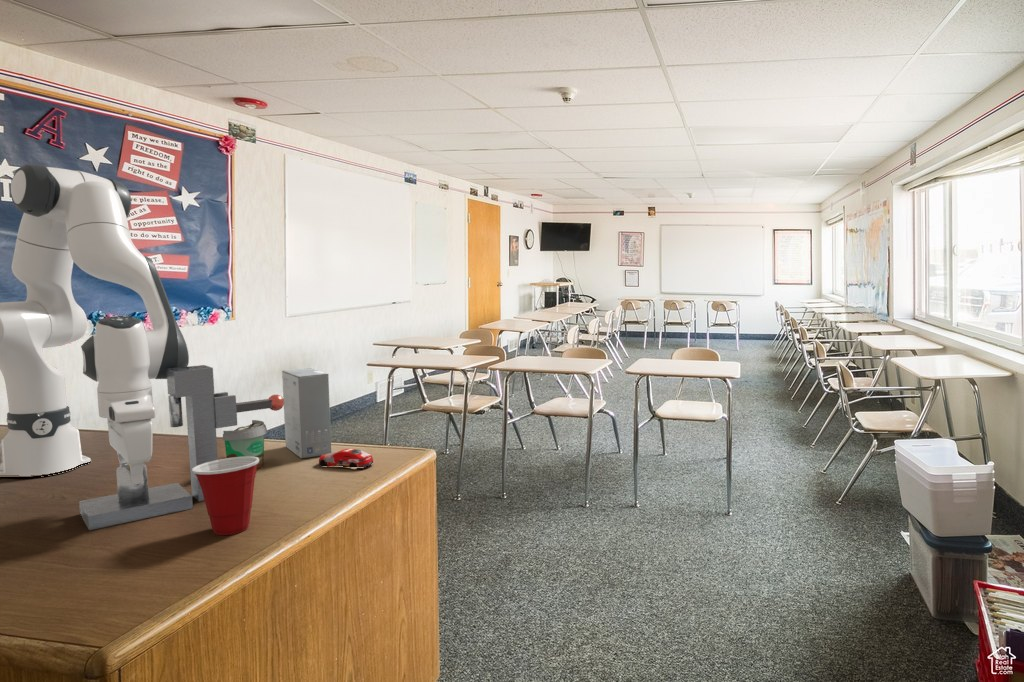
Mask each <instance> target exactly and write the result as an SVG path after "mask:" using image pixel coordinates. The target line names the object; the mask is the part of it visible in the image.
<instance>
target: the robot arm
mask: <svg viewBox="0 0 1024 682" xmlns="http://www.w3.org/2000/svg"><path fill="white" fill-rule="evenodd" d="M10 197H11V201H12V203H13V205H14V207H16V208H17V210H19V211H20V212H22V213H23V214H22V216H21V220H20V223H19V226H18V232H17V237H16V239H15V244H14V245H15V246H14V253H13V257H12V263H11V272H12V274H13V275H14V277H16V279H17V280H19V282H20V283H22V284H24V285H25V287H26V298H25V299H26V300H25V301H23V300H22V301H6V302H5V301H2V302H0V372H1V374H2V376H3V380H4V383H5V385H4V386H5V389H6V391H5V392H6V396H7V397H6V398H7V407H8V412H7V413H6V423H7V429H8V432H7V434H6V435H4V437H3V438H2V439H1V442H0V455H1V456H0V462H1V463H0V475H19V476H31V475H42V474H50V473H55V472H60V471H64V470H68V469H71V468H74V467H76V466H78V465H80V464H83V463H87V462H90V461H91V462H92V459H91V457H88V456H86V455H83V453H82V445H81V438H80V431H79V429H78V428H76V427H75V426H73V425H72V424H71V411H70V406H68V402H67V390H66V379H65V375H64V373H63V372H62V371H61V370H60V369H59V368H57V367H55V366H52V365H50V363H49V362H48V360H47V359H46V357H45V354H44V352H43V349H46V348H55V347H62V346H65V345H67V344H71V343H73V342H75V341H78V340H80V339H81V338H82V337H84V335H85V333H86V332H87V328H88V319H87V315H86V313H85V311H84V309H83V308H82V307H81V306H80V305H79V304H78V303H77V302H76V300H75V298H74V294H73V290H72V273H73V267H74V264H75V265H76V266H77V267H78V268H79V269H81V271H82V272H85V273H86V274H88V275H89V276H91V277H94V278H97V279H99V280H103V281H106V282H109V283H113V284H117V285H121V286H123V287H125V288H128V289H131V291H134V292H135V293H137V294H138V295H139V297H141V299H142V301H143V304H144V307H145V309H146V312H147V315H148V317H149V320H150V323H151V326H152V329H151V330H146V329H145V325H144V323H143V320H141V319H140V318H137V317H135V316H128V315H127V316H126V315H116V316H115V315H114V316H108V317H104V318H101V319H99V320H98V321H97V322H96V324H95V331H94V332H95V333H94V334H92V335H91V336H90V337H89V338H87V339H86V340H85V341H84V342H83V343H82V345H80V349H81V351H82V357H83V359H82V360H83V367H82V370H83V371H82V374H83V375H84V376H86V377H87V378H89V379H91V380H93V381H95V382H96V383H97V382H98V384H97V388H96V391H97V393H96V394H97V406H98V416H99V417H100V418H102V419H107V427H108V428H107V430H108V440H109V444H110V446H111V447H112V448H113V449H114V450H115V451H116V454H117V458H118V462H119V467H121V466H124V465H128V463H129V466H130V481H131V483H132V484H134V485H135V484H141V483H142V482H143V476H142V473H143V468H144V464H145V463H148V462H151V460H152V456H153V439H154V438H153V437H154V436H153V421H152V419H155V418H156V409H155V405H154V403H153V402H154V401H153V388H152V386H153V385H152V382H151V380H154V379H155V380H167V371H166V369H167V368H178V367H188V366H189V363H190V361H189V360H190V351H189V347H188V344H187V342H186V340H185V338H184V335H183V332H182V331H181V329H180V327H179V325H178V323H177V321H176V318H175V314H174V312H173V309H172V306H171V304H170V301H169V299H168V296H167V295H168V294H167V293H166V290H165V288H164V284H163V281H162V279H161V277H160V274H159V271H158V270H157V268H156V265H155V264H154V262H153V260H152V259H151V258H150V257H148V256H146V255H145V254H143V253H141V251H139V249H138V248H137V247H136V246H135V244H134V242H133V240H132V237H131V233H130V227H129V222H128V217H129V215H130V214H131V208H132V197H131V193H130V191H129V190H128V187H127V186H126V185H125V184H123V183H122V182H120V181H118V180H114V179H113V178H109V177H107V178H105V177H102V176H99V175H95V174H93V173H89V172H85V171H81V170H78V169H77V170H73V169H68V168H67V169H66V168H59V167H52V166H50V167H49V166H46V165H44V164H38V163H37V164H36V163H35V164H34V163H30V164H29V163H28V164H23V165H21V166H20V167H19V168H18V169H16V171H15V172H14V174H13V176H12V180H11V183H10ZM127 462H128V463H127Z"/></svg>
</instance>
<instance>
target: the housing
mask: <svg viewBox="0 0 1024 682" xmlns="http://www.w3.org/2000/svg"><path fill="white" fill-rule="evenodd" d="M127 463H128V462H127ZM147 468H148V466H147V464H145V463H144V468H143V473H142V476H143V482H142V483H141V484H135V485H134V484H132V483H131V481H130V466H129V463H128V465H124V466H121V467H120V466H118V467H116V482H117V483H116V485H117V494H118V500H119V502H121V503H132V502H138V501H142V500H145V499H147V498H148V497H149V492H148V488H149V480H148V469H147Z"/></svg>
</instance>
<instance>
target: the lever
mask: <svg viewBox="0 0 1024 682" xmlns="http://www.w3.org/2000/svg"><path fill="white" fill-rule="evenodd" d="M282 408H284V399H283V396H282V395H279V394H272V395H270V396H269V397H268V398H264V399H258V400H257V399H256V400H251V401H249V400H248V401H243V402H242V401H241V402H240V401H239V402H236V409H237V414H239V413H244V412H250V411H252V412H253V411H258V410H267V409H269V410H271V411H274V412H275V411H276V412H277V411H280V410H282Z"/></svg>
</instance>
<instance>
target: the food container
mask: <svg viewBox="0 0 1024 682" xmlns="http://www.w3.org/2000/svg"><path fill="white" fill-rule="evenodd" d="M222 432H223V433H222V441H224V447H225V455H226V456H225V457H226V458H233V457H258V458H259V463H258V465H257V468H256V472H257V471H258V470H259V471H260V470H262V469H263V468H264V462H265V461H264V458H265V435H266V434H267V433H268V428H267V426H266V424H265V422H264V421H262V420H258V419H252V420H251V424H249V425H246V426H239V427H237V428H236V429H233V430H223V431H222Z"/></svg>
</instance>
